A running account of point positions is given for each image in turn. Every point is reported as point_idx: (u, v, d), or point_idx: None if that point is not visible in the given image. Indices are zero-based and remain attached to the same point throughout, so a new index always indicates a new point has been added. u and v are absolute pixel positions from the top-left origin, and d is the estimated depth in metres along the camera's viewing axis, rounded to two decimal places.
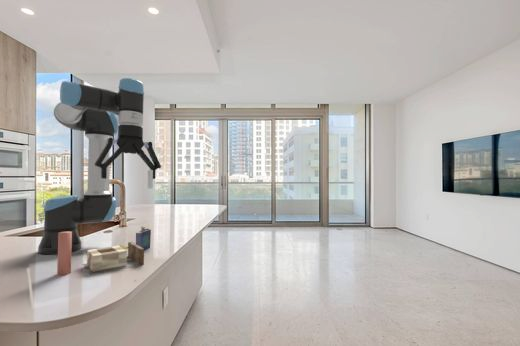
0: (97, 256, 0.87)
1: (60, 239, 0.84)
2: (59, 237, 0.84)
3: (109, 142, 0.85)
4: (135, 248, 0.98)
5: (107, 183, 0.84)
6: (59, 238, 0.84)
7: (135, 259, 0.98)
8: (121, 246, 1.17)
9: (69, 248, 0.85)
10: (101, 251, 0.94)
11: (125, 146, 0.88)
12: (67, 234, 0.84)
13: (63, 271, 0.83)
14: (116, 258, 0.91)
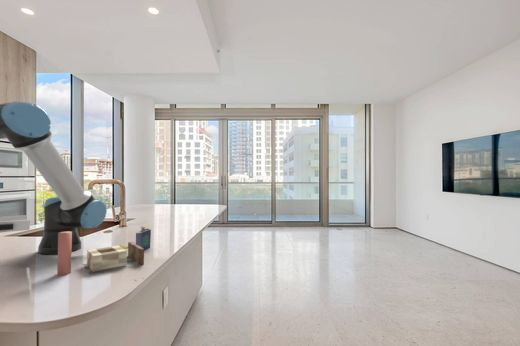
0: (97, 256, 0.87)
1: (60, 239, 0.84)
2: (59, 237, 0.84)
3: None
4: (135, 248, 0.98)
5: None
6: (59, 238, 0.84)
7: (135, 259, 0.98)
8: (121, 246, 1.17)
9: (69, 248, 0.85)
10: (101, 251, 0.94)
11: None
12: (67, 234, 0.84)
13: (63, 271, 0.83)
14: (116, 258, 0.91)
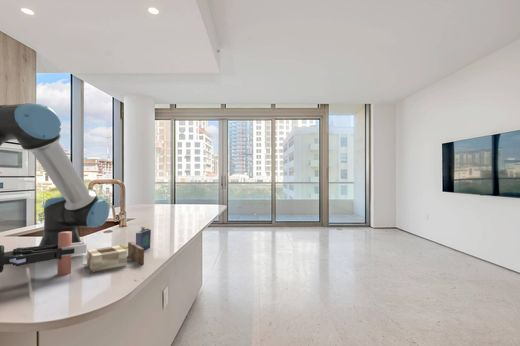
0: (97, 256, 0.87)
1: (60, 239, 0.84)
2: (59, 237, 0.84)
3: None
4: (135, 248, 0.98)
5: None
6: (59, 238, 0.84)
7: (135, 259, 0.98)
8: (121, 246, 1.17)
9: None
10: (101, 251, 0.94)
11: None
12: (67, 234, 0.84)
13: (63, 271, 0.83)
14: (116, 258, 0.91)
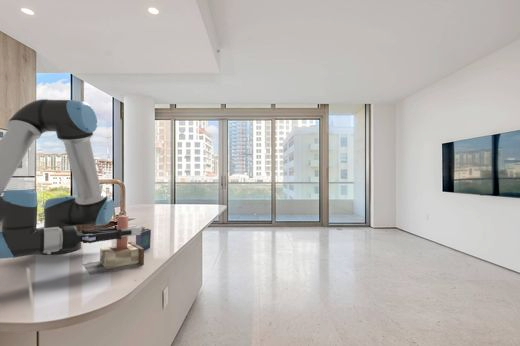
0: (111, 254, 0.90)
1: (119, 221, 0.95)
2: (118, 220, 0.95)
3: None
4: None
5: None
6: (118, 221, 0.95)
7: None
8: None
9: None
10: (114, 249, 0.97)
11: None
12: (125, 218, 0.96)
13: None
14: (129, 256, 0.93)
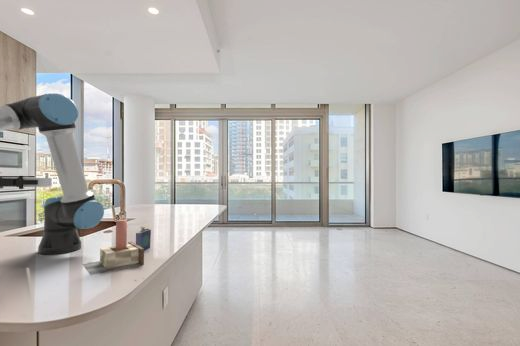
0: (111, 254, 0.90)
1: (118, 226, 0.95)
2: (117, 224, 0.95)
3: None
4: None
5: None
6: (117, 225, 0.95)
7: None
8: None
9: (125, 234, 0.96)
10: (114, 249, 0.97)
11: None
12: (124, 222, 0.96)
13: None
14: (129, 256, 0.93)
